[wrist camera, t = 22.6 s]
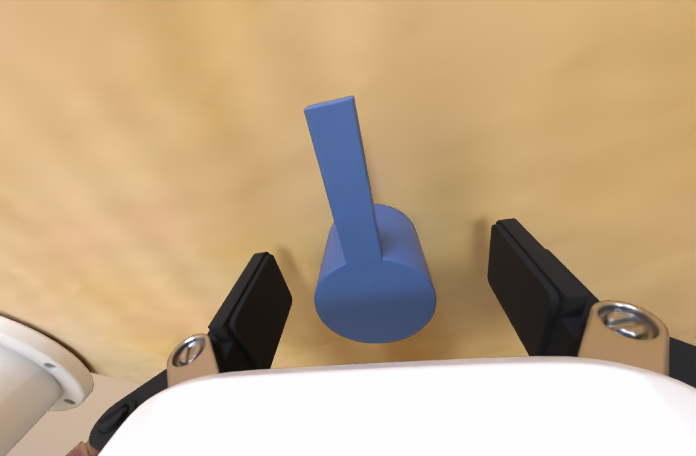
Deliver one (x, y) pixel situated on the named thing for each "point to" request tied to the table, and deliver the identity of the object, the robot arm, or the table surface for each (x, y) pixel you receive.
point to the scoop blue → (364, 242)
